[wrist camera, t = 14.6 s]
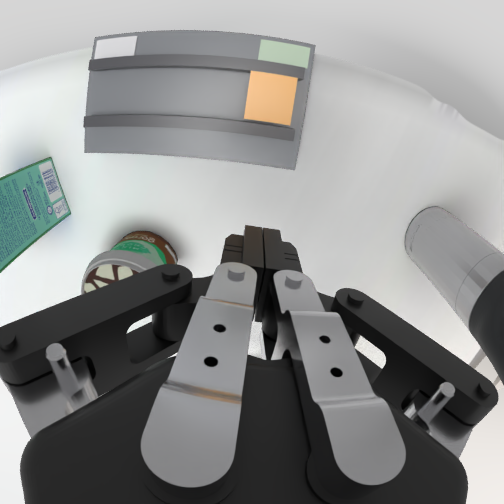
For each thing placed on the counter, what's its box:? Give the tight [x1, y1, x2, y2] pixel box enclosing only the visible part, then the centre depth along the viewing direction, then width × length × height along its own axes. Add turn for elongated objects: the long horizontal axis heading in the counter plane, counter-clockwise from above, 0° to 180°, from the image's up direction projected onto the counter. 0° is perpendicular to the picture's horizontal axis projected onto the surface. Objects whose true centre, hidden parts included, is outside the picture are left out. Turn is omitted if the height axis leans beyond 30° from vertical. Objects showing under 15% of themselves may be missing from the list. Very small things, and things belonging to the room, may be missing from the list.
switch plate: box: [84, 30, 315, 170], centre depth 27 cm, size 24×14×6 cm, turn 82°
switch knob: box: [244, 71, 298, 125], centre depth 24 cm, size 4×4×4 cm
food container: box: [81, 231, 178, 295], centre depth 34 cm, size 12×6×10 cm, turn 97°
